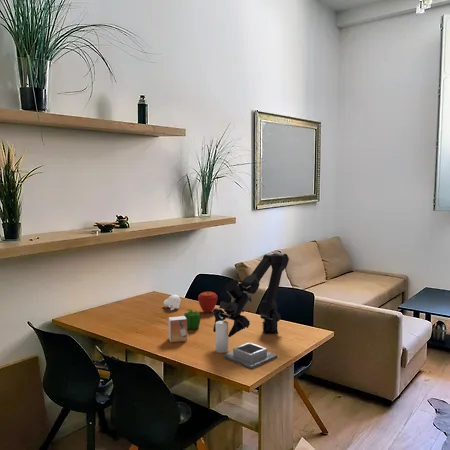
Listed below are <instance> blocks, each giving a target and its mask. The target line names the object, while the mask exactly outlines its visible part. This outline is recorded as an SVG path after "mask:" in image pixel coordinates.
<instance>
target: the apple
mask: <svg viewBox="0 0 450 450" xmlns="http://www.w3.org/2000/svg"><path fill="white" fill-rule="evenodd" d="M197 301H198V304H199V306H200V308H201V310H202V311H203V312H204V313H206V314H207V313H209V314H210V313H212V312H213V310H214V309H215V308H216V305H217V303H218V302H217V301H218V295H217V294H216V292H213V291H203V292H201V293H200V294H199V295H198V298H197Z"/></svg>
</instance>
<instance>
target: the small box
mask: <svg viewBox="0 0 450 450" xmlns="http://www.w3.org/2000/svg"><path fill="white" fill-rule="evenodd" d="M168 340H169V341H170V343H176V342H187V341H188V329H187V319H186V317H185V316H184V315H180V316H169V317H168Z"/></svg>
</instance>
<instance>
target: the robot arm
mask: <svg viewBox="0 0 450 450" xmlns="http://www.w3.org/2000/svg"><path fill="white" fill-rule="evenodd" d="M289 260H290V258H289V256H288V254H287V253H283V252H273V253H270V254H269V253H266V254H264V255H263V256H262V259H261V260H260V261H259V263H258V264H257V266H256V267H255V269H253V271H252V273H251V274H249V275H247V276H246V277H244V278H243V280H242V281H241V282H239V280H238V279H236V278H235V279H232V280H231V281H229V282H228V283H226V285H225V286H224V291H226V292H227V293H228V295H229V296H230V298H232V299H233V301H230V302H226V301H220V304H219V307H218V308H217V307H215V308H214V310H213V311H212V312H211V313H212V314H213V316H214V325H213V330H212V331H213V333H216V322H217V321H226V319H228V320H231V321H233V325H232V327H231V328H230V331H228V338H231V337H232V336H234V335H235V334H237V333H238V332H240V331H242V330H245V329H249V327H250V320H249V319H248V318H247V316H246V315H243V314H242V313H245V310H244V309H245V306H246V305H247V303H248V302H249V303H250V302H251V303H252V295H255V294H256V293H257V291H258V290H259V287H260V281H261V280H262V278H263V277H264V275H265V274H266V273H267V271H268V270H269V269H270V267H271V274H270V277H269V283H268V287H267V291H266V295H265V298H264V299H263V300H261V301H259V302H260V303H259V307H258V313H259V315H260V319H261V320H263V321H262V331H263V332H264V334H266V335H267V334H270V335H271V334H279V331H278V322H279V321H281V319H282V318H281V317H282V315H281V314H280V313H279V312H278V303H277V301H276V300H277V296H278V291H279V287H280V284H281V283H280V282H281V279H282V275H283V272H284V271H285V269H286V268H287V267H288V264H289ZM249 294H250V295H249ZM241 314H242V315H241Z"/></svg>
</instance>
